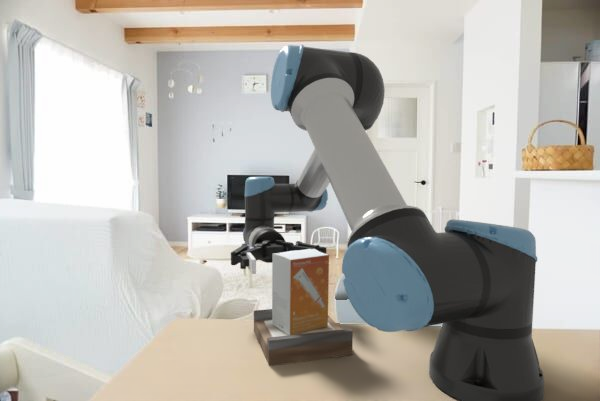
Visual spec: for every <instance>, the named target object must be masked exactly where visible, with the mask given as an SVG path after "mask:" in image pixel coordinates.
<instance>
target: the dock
mask: <svg viewBox="0 0 600 401" xmlns="http://www.w3.org/2000/svg"><path fill="white" fill-rule="evenodd" d="M253 333H254V335H255V338H256V340H257V342H258V344H259V347H260V348H261V351H262V353H263V356H264V358H265V360H266V363H267V365H268V366H277V365H283V364H284V365H285V364H291V363H299V362H305V361H306V362H308V361H314V360H322V359H323V360H324V359H329V358H337V357H345V356H347V357H348V356H353V344H354V343H353V337H354V336H353V334H354V332H353V330H352V329H351V328H344V329H342V328H341V327H340V326H339V325H338V324H337V323H336V321H335V320H333V319H332V317H330V316H329V315H328V326H327V327H324V328H319V329H315V330H310V331H306V332H302V333H298V334H294V335H288V334H286V333H285V332H283V331H282V330H280V329H278V328H277V327H275V326H274V325H273V324H272V308H268V309H261V310H260V309H258V310H253Z"/></svg>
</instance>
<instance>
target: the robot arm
mask: <svg viewBox="0 0 600 401" xmlns="http://www.w3.org/2000/svg"><path fill="white" fill-rule="evenodd" d="M271 74H272V75H271V81H270V82H271V84H270V100H271V104H272V106H273V108H274V110H276V111H280V112H281V113H284V112H289V114H290V116H291V118H292V121H293V122H294V123H295V126H297V127H298V128H299V129H301V130H303V131H306V132H307V133H308V136H309V138H310V140H311V143H312V146H314V149H313V151H312V153H311V154H310V157H309V158H308V160H307V161H306V164H305V166H304V167H303V169H302V171H301V173H300V175H299V177H298V179H297V180H296V183H275V179H274V177H272V176H249V177H248V178H246V180H245V185H244V213H245V215H244V217H245V218H244V228H243V232H242V239H243V241H244V243H241V246H239V247H238V248H236V249H234V250H233V251H231V252H230V265H231V266H236V265H238V264H240V266H239V268H240V269H241V270H246V269H248V270H249V271H250V272H249V273H250V274H251V275H256V274H257V261H261V262H264V263H267V264H270V263H271V264H272V254H273V253H281V252H287V251H295V250H305V249H312V250H316V251H319V252H322V253H325V254H327V247H325V246H321V245H320V244H311V243H305V242H302V241H300V240H297V241H295V243H293V242H290V241H286V240H285V238H284V236H283V235H282V234H281V233H280V232H279V231H278V230H276V229H275V214H276V213H292V212H293V213H296V212H297V213H298V212H299V213H300V212H301V213H302V212H310V213H311V212H314V211H321V210H323V209H325V208H326V206H327V205H328V204H327V201H328V199H329V195H328V190H327V188H328V187H329V185H331V188H332V190H333V192H334V194H335V197H336V199H337V201H338V204H339V206H340V208H341V210H342V213H343V215H344V216H345V219H346V221H347V224H348V226H349V228H350V230H351V233H350V234H349V237H348V239H347V240H346V250H345V252H344V254H343V258H342V263H341V273H342V274H343V276H344V278H343V279H342V282H343V287H344V291H345V293H346V296H347V299H348V300H349V303H350V305H351V307H353V309H354V312H356V314H357V315H358V316H359V318H361V319H362V321H364V322H365V323H366V324H368V325H369V326H370V327H372V328H375V329H377V330H378V331H381V332H385V333H395V332H401V331H402V332H413V331H419V330H422V329H424V328H425V327H430V326H435V325H436V326H437V325H440V324H442V326H441V329H440V331H439V333H438V336H437V338H436V341H435V344H434V347H433V350H432V352H431V353H430V355H429V362H428V364H429V365H428V372H429V373H428V374H429V378H430V380H431V381H432V383H433V384H434V385H435V386H436V387H437V388H439V389H440V390H441V391H442V392H444V393H445V394H447V395H449V396H451V397H453V398H454V399H457V400H459V401H542V400H543V399H544V395H545V394H544V392H545V376H544V373H543V370H542V369H541V367H540V362H539V358H538V353H537V350H536V347H535V343H534V340H533V320H534V318H533V317H534V304H535V303H534V299H535V286H536V285H535V284H536V282H535V281H536V266H537V264H536V263H537V262H538V257H537V247H536V246H537V242H536V237H535V235H534V234H533V233H532V232H531V231H530V230H529V229H525V228H521V227H515V226H509V225H504V224H503V225H501V224H495V223H487V222H480V221H473V220H462V219H454V218H453V219H449V220H448V221H447V222H446V224H445V227H444V232H437V231H436V230H435V228H434V227H433V225H432V224H431V222H430V220H429V218H428V216H427V215H426V213H425V211H424V210H422V208H419V207H418V206H412V205H408V204H407V203H406V200H405V199H404V197H403V195H402V194H401V192H400V190H399V188H398V187H397V185H396V183H395V182H394V179H393V177H392V176H391V174H390V172H389V171H388V169H387V167H386V165H385V164H384V162H383V159H382V158H381V156H380V154H379V152H378V151H377V149H376V147H375V146H374V143H373V142H372V140H371V138H370V137H369V135H368V133H367V131H368V130H370V129H371V128H372V127H373V125H374V124H375V123H376V121H377V119H378V118H379V116H380V113H381V112H382V109H383V106H384V102H385V101H384V99H385V83H384V78H383V76H382V73H381V71H380V69H379V67H378V66H377V65H376V64H375V63H374V61H372V60H371V59H370V58H369V57H367V56H365V55H363V54H362V53H358V52H353V51H352V52H351V51H350V52H349V51H347V52H346V51H342V50H335V49H334V50H333V49H326V48H316V47H311V46H304V44H300V45H293V44H288V45H285V46H283V48H282V49H281V50H280V51H279V52H278V54H277V57H276V59H275V62H274V65H273V70H272V73H271Z"/></svg>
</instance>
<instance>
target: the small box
mask: <svg viewBox="0 0 600 401" xmlns="http://www.w3.org/2000/svg"><path fill="white" fill-rule="evenodd" d="M271 264H272V268H271V269H272V271H271V272H272V274H271V275H272V276H271V277H272V278H271V280H272V281H271V282H272V283H271V285H272V287H271V293H272V294H271V296H272V298H271V299H272V300H271V309H272V324H273V325H274V326H275V327H277V328H278V329H280V330H282V331H283V332H285V333H286V334H288V335H294V334H298V333H302V332H306V331H310V330H315V329H319V328H324V327H327V326H328V316H329V282H330V280H329V273H330V255H329V254H328V253H326V254H325V253H322V252H319V251H316V250H312V249H305V250H295V251H287V252H281V253H273V254H272V263H271Z"/></svg>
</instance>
